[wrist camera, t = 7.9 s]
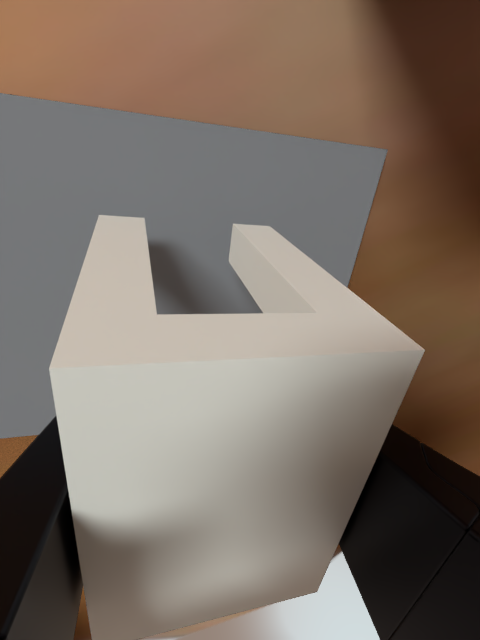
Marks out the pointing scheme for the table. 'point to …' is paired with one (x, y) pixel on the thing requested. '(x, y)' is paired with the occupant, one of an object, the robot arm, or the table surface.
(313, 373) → the white u-channel block
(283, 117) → the table surface
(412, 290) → the table surface
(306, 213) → the mat
